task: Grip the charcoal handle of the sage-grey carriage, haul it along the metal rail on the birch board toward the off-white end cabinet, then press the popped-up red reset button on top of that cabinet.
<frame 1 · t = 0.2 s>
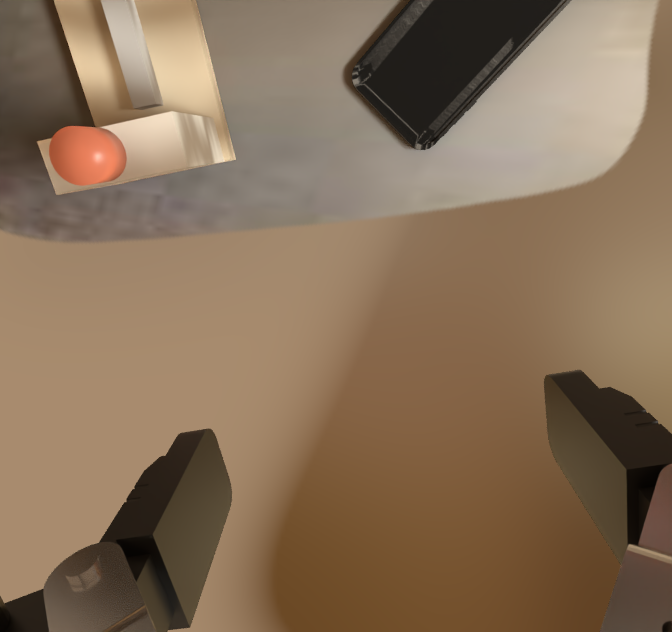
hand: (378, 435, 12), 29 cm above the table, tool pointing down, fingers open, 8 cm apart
rail base: (132, 9, 35), on the table
reset button: (89, 155, 26), point 13 cm above the table, slide at 0.0 cm
phone: (460, 34, 35), on the table
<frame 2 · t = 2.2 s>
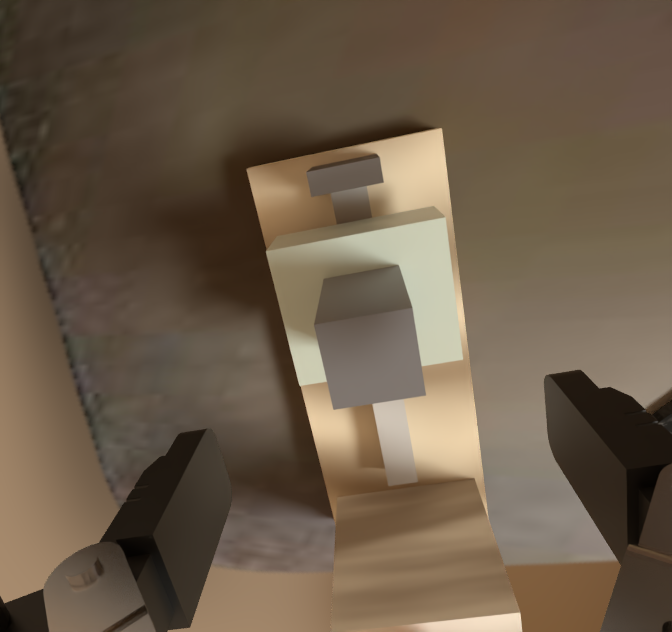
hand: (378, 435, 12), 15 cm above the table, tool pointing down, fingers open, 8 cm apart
rail base: (380, 353, 28), on the table
carriage: (368, 315, 19), point 7 cm above the table, slide at 0.0 cm
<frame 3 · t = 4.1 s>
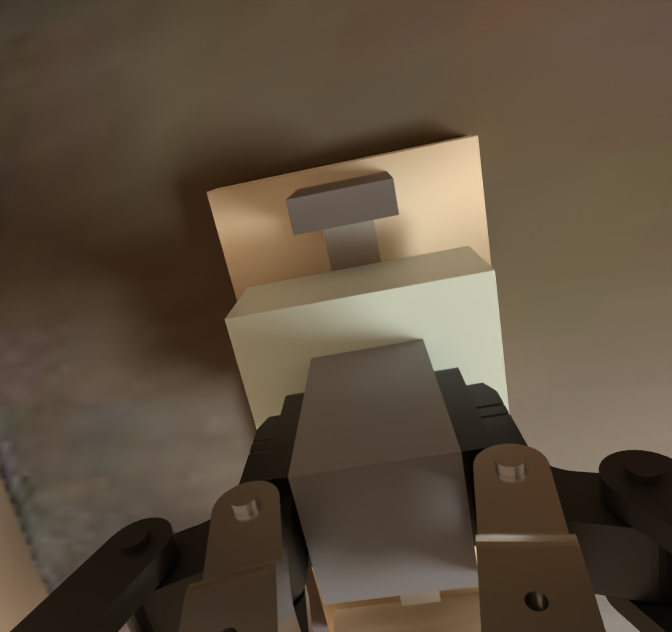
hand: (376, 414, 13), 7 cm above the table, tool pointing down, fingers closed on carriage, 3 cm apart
rail base: (390, 428, 21), on the table
carriage: (377, 417, 13), point 7 cm above the table, slide at 0.0 cm, touching gripper
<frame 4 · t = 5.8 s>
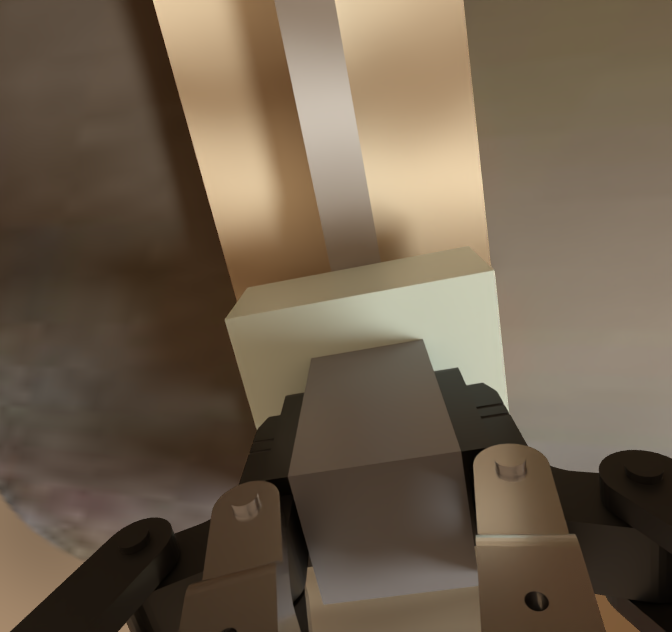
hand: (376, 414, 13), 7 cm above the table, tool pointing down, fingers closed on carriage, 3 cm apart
rail base: (357, 254, 19), on the table
carriage: (377, 417, 13), point 7 cm above the table, slide at 7.7 cm, touching gripper
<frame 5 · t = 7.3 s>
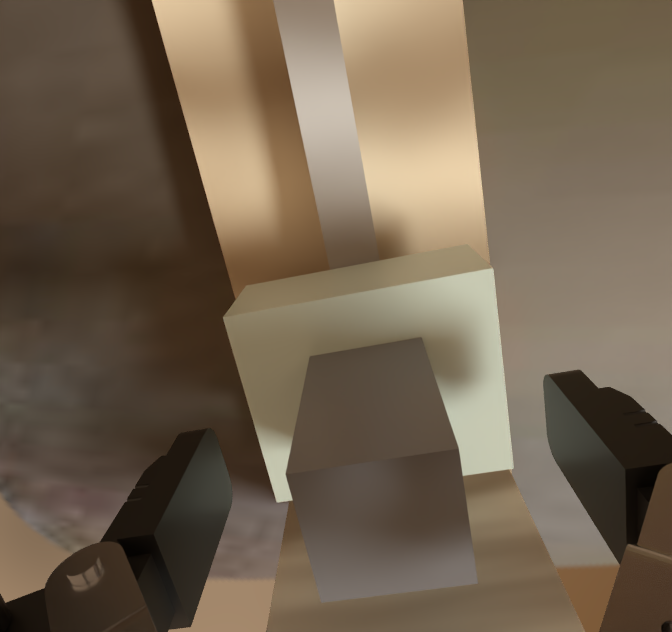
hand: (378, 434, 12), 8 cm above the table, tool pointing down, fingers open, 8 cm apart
rail base: (355, 250, 19), on the table
carriage: (376, 415, 13), point 7 cm above the table, slide at 7.7 cm
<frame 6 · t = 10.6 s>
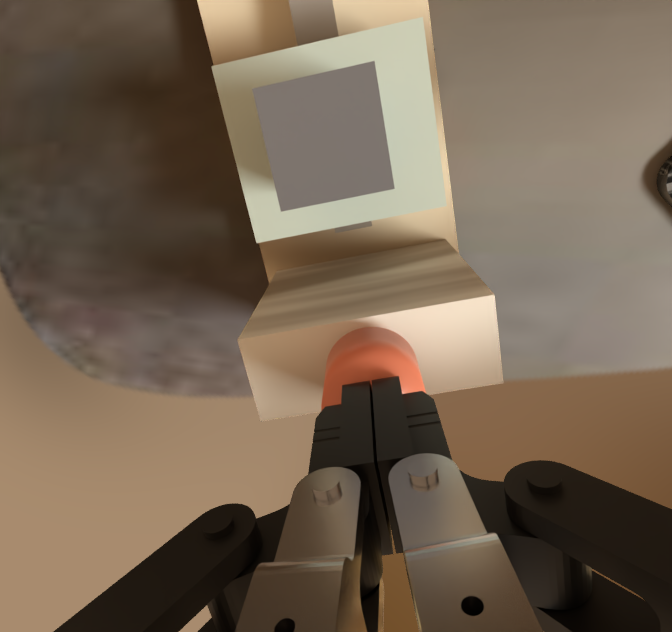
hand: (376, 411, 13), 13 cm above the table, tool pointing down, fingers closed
rail base: (326, 73, 22), on the table
carriage: (332, 138, 16), point 7 cm above the table, slide at 7.7 cm
reset button: (373, 387, 14), point 12 cm above the table, slide at 0.8 cm, touching gripper
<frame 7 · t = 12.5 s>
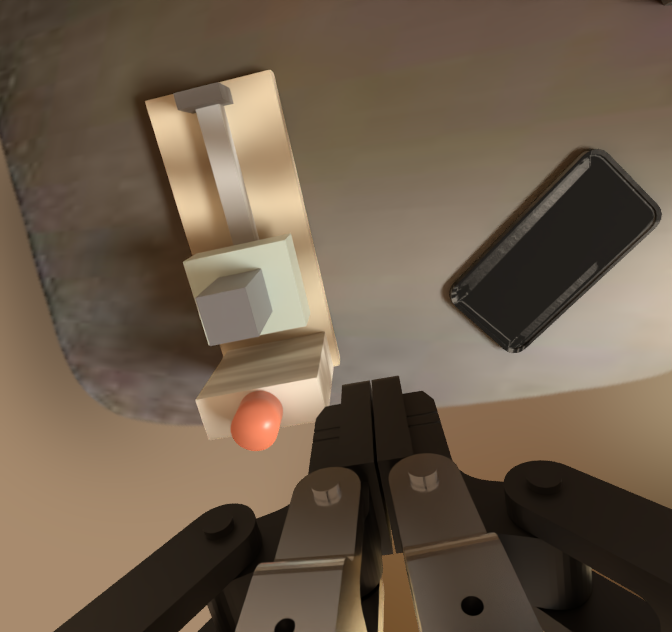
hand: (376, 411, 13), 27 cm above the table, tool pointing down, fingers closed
rail base: (253, 239, 39), on the table
carriage: (242, 298, 33), point 7 cm above the table, slide at 7.7 cm
reset button: (257, 420, 31), point 11 cm above the table, slide at 1.3 cm
phone: (547, 254, 39), on the table
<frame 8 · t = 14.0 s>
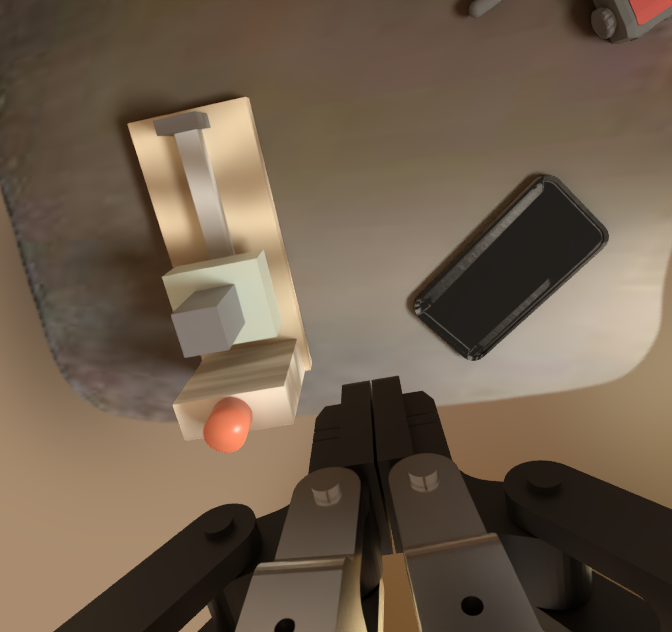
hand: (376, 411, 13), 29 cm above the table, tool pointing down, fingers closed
rail base: (230, 252, 42), on the table
carriage: (216, 311, 36), point 7 cm above the table, slide at 7.7 cm
reset button: (228, 424, 34), point 11 cm above the table, slide at 1.3 cm
phone: (504, 270, 42), on the table
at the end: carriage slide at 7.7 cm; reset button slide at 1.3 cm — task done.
